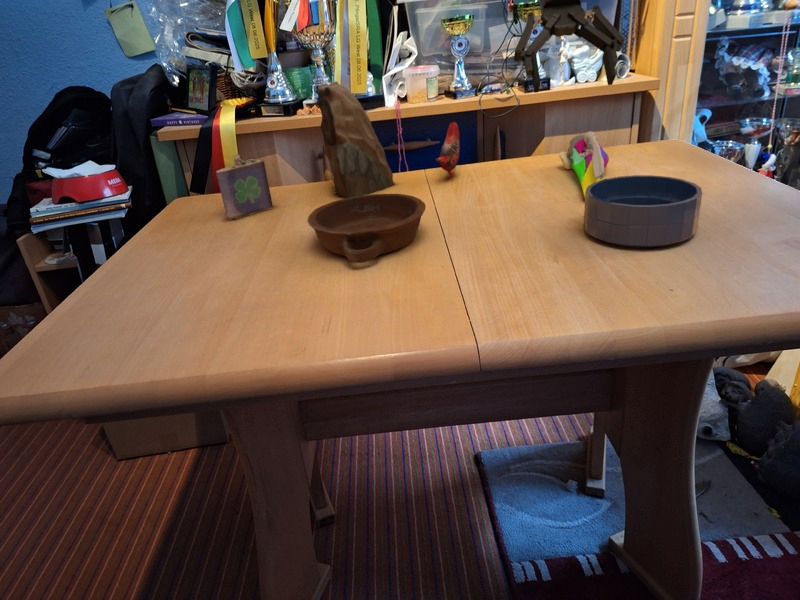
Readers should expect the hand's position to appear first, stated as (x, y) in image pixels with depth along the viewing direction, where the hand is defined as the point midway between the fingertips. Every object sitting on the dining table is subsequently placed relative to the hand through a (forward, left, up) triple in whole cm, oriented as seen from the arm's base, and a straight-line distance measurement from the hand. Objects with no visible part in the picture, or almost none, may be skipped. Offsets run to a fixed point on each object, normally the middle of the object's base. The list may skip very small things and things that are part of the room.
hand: (574, 84), depth 103 cm
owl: (+41, -9, -16) cm, 44 cm away
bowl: (+10, +36, -15) cm, 40 cm away
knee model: (+2, +10, -16) cm, 19 cm away
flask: (+63, -5, -16) cm, 65 cm away
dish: (+45, +21, -16) cm, 52 cm away
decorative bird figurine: (+24, -5, -16) cm, 29 cm away
